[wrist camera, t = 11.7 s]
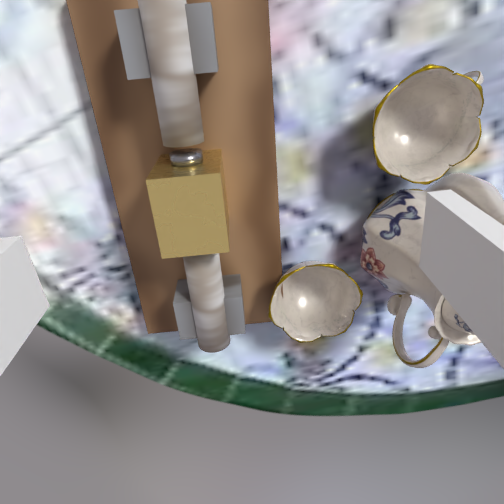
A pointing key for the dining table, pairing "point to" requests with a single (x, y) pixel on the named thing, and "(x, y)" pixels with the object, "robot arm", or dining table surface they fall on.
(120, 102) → the rig
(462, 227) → the robot arm
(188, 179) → the block
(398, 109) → the chinaware
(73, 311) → the dining table surface
